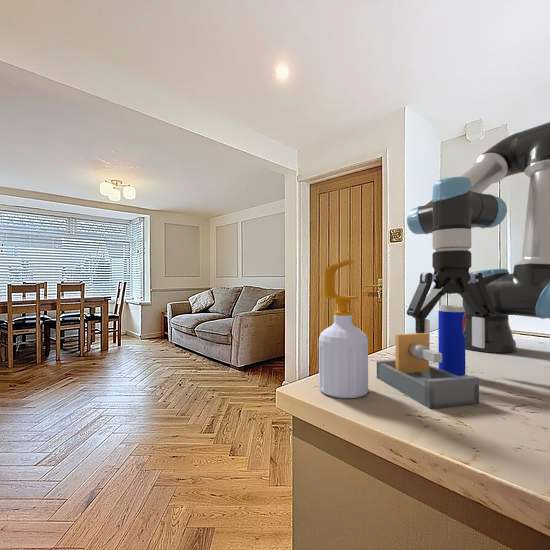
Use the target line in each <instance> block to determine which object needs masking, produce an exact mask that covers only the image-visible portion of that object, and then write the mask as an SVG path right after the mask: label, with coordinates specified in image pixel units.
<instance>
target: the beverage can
mask: <svg viewBox="0 0 550 550" xmlns="http://www.w3.org/2000/svg"><path fill="white" fill-rule="evenodd" d="M437 313H438V317H437V318H438V319H437V321H438V324H437V325H438V329H437V330H438V331H437V334H438V337H437V338H438V340H437V341H438V352H439V353H442V362H440V363H438V368H439V369H442V370H444V371H447V372H449V373H452V374H454V375H457V376H459V377H462V376H466V349H465V309H464V307H463V305H447V304H446V305H443V304H442V305H439V307H438V312H437Z"/></svg>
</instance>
